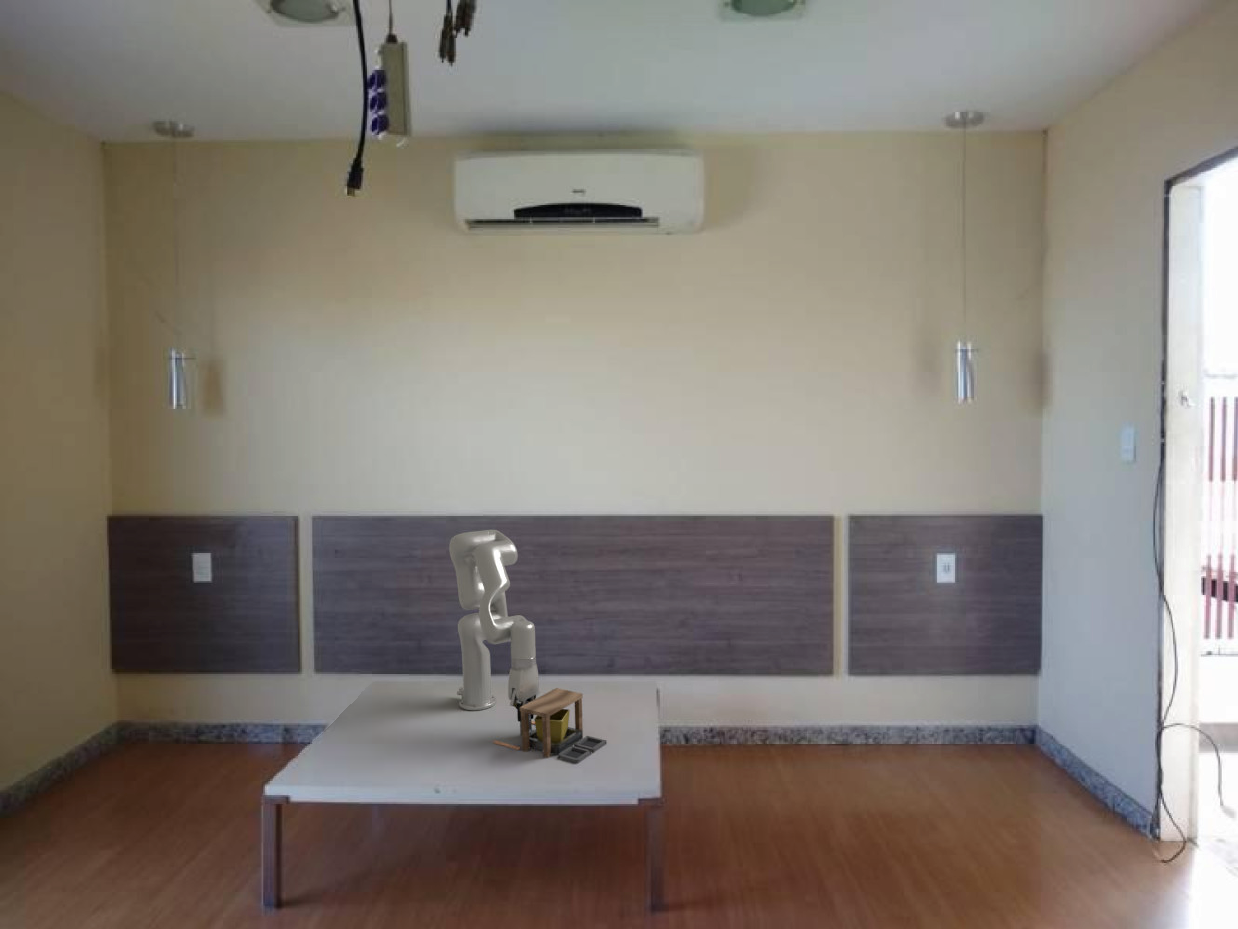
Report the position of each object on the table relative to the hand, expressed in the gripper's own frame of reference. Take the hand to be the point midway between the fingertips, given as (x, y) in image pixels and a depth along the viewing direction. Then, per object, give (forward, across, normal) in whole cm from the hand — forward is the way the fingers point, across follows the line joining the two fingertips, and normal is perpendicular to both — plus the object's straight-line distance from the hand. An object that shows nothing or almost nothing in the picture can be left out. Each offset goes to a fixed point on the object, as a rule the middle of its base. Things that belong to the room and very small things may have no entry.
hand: (525, 719), depth 235 cm
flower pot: (+5, 0, +10) cm, 12 cm away
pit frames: (+5, 0, +22) cm, 22 cm away
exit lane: (+5, 0, 0) cm, 5 cm away
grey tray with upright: (+5, 0, +8) cm, 9 cm away
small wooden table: (+5, 0, +10) cm, 12 cm away
